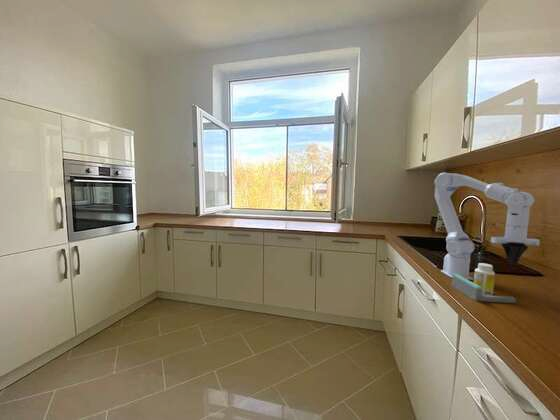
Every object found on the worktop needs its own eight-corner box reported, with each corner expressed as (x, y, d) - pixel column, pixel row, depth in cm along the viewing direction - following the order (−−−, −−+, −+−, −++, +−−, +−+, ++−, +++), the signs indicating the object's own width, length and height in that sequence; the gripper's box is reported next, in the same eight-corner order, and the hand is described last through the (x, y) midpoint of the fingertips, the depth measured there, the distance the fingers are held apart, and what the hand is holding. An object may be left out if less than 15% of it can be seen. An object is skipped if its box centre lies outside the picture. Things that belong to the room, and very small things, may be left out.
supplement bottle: (493, 293, 90) (496, 264, 89) (492, 297, 86) (495, 268, 85) (473, 288, 94) (476, 261, 93) (471, 292, 90) (474, 264, 89)
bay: (451, 285, 96) (452, 273, 96) (485, 287, 95) (486, 275, 95) (475, 300, 83) (476, 287, 83) (515, 303, 82) (516, 289, 82)
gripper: (503, 226, 86) (499, 266, 87) (549, 228, 85) (544, 268, 86) (488, 223, 93) (484, 260, 94) (531, 225, 92) (526, 262, 93)
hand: (512, 263), depth 91 cm, fingers closed
